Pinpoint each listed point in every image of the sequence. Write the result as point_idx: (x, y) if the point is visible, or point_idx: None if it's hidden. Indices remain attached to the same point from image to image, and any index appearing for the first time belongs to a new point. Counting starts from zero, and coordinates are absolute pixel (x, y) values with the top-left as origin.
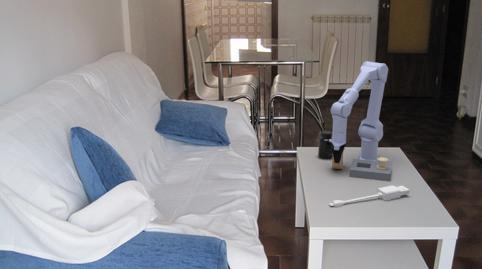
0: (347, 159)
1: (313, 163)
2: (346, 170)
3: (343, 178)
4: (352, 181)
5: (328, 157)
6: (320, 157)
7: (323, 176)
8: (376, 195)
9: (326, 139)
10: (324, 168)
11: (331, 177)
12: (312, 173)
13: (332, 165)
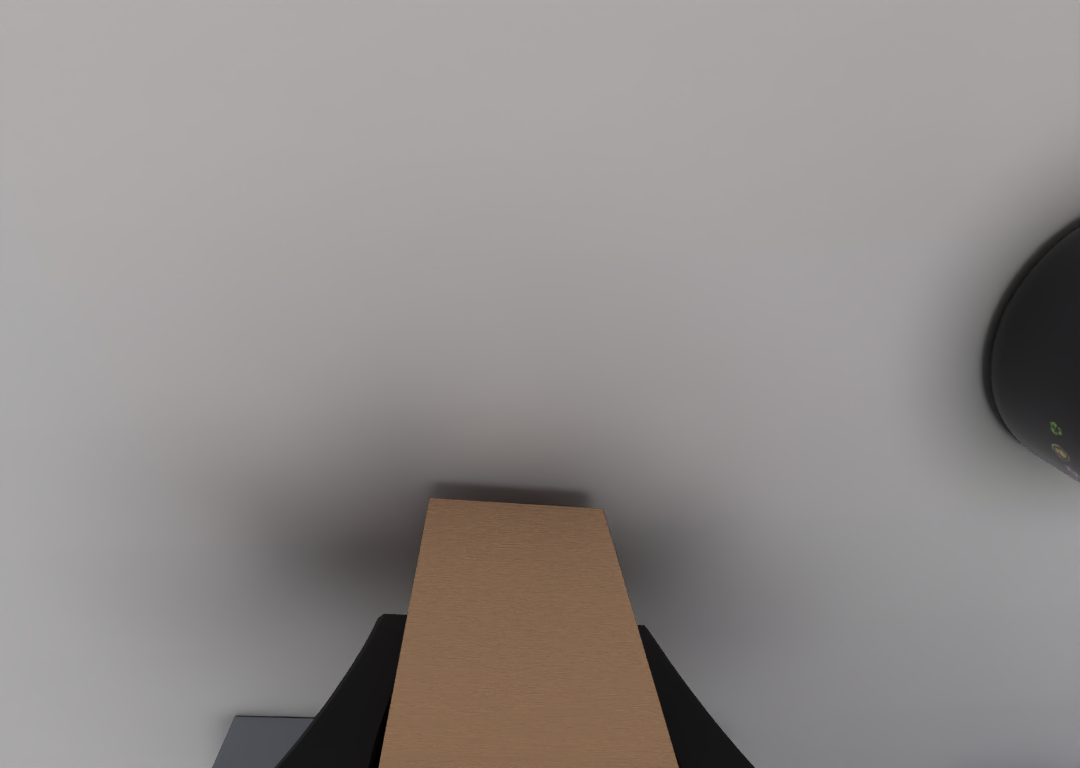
0: (970, 657)
1: (751, 108)
2: None
3: (114, 650)
4: (49, 755)
5: (1011, 407)
6: (1063, 246)
7: (52, 355)
8: None
9: None
10: (494, 349)
11: (70, 488)
12: (122, 122)
13: (424, 532)
